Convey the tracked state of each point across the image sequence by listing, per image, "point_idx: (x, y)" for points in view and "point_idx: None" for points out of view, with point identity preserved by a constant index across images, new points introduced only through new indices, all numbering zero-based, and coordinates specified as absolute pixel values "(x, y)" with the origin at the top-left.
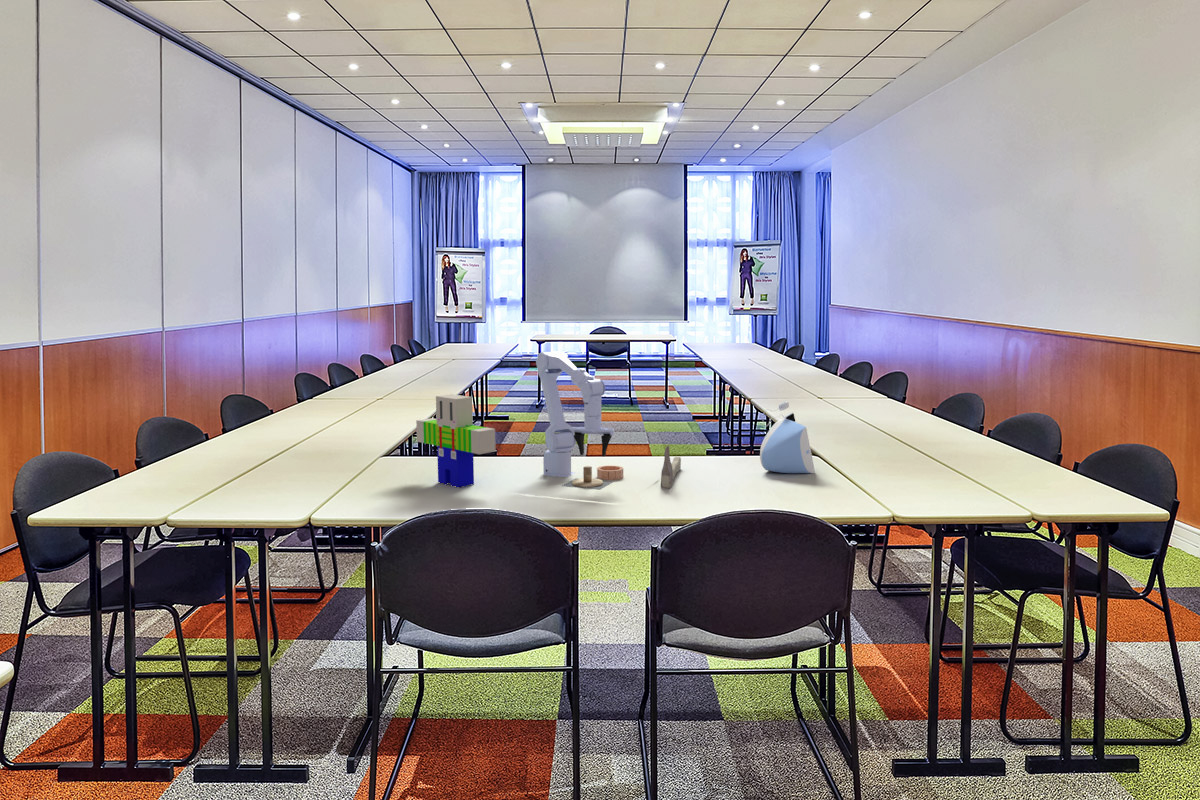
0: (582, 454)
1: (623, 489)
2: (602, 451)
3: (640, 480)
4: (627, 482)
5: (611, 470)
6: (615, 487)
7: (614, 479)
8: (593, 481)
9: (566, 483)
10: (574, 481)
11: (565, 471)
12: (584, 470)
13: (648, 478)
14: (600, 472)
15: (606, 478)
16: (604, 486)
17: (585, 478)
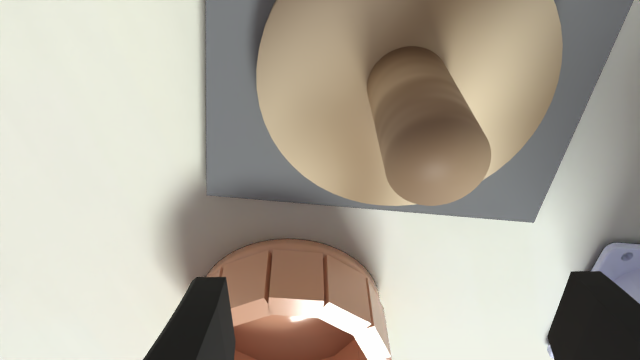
0: (568, 290)
1: (23, 10)
2: (196, 331)
3: (67, 305)
4: (123, 240)
5: (250, 318)
6: (133, 67)
7: (230, 260)
8: (352, 101)
9: (612, 36)
10: (539, 55)
11: (636, 300)
12: (463, 107)
13: (49, 354)
14: (343, 295)
15: (287, 252)
16: (212, 12)
17: (429, 63)
